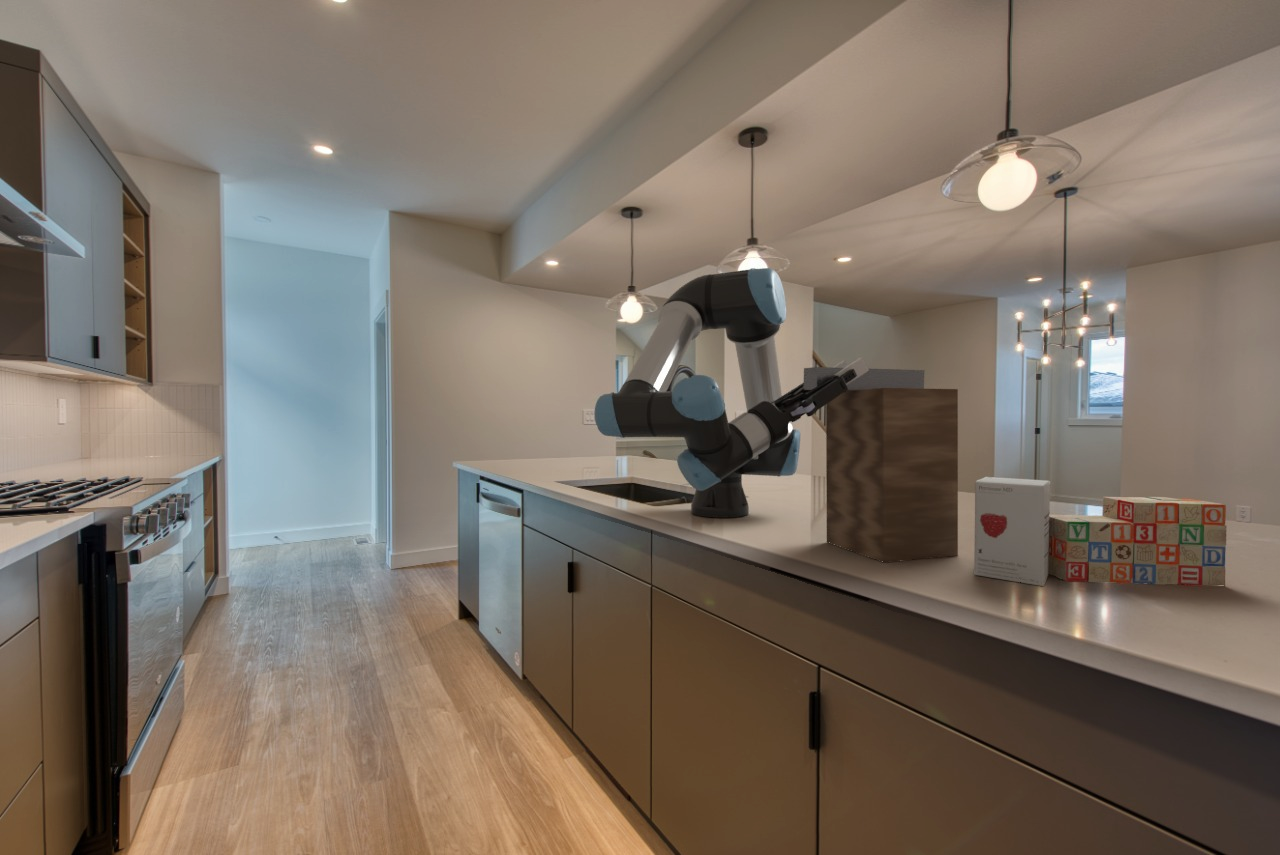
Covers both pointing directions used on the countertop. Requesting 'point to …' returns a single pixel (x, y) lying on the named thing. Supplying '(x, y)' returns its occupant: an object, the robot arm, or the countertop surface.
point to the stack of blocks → (1141, 542)
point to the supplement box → (1012, 529)
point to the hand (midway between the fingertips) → (855, 365)
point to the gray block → (867, 378)
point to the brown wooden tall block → (893, 472)
